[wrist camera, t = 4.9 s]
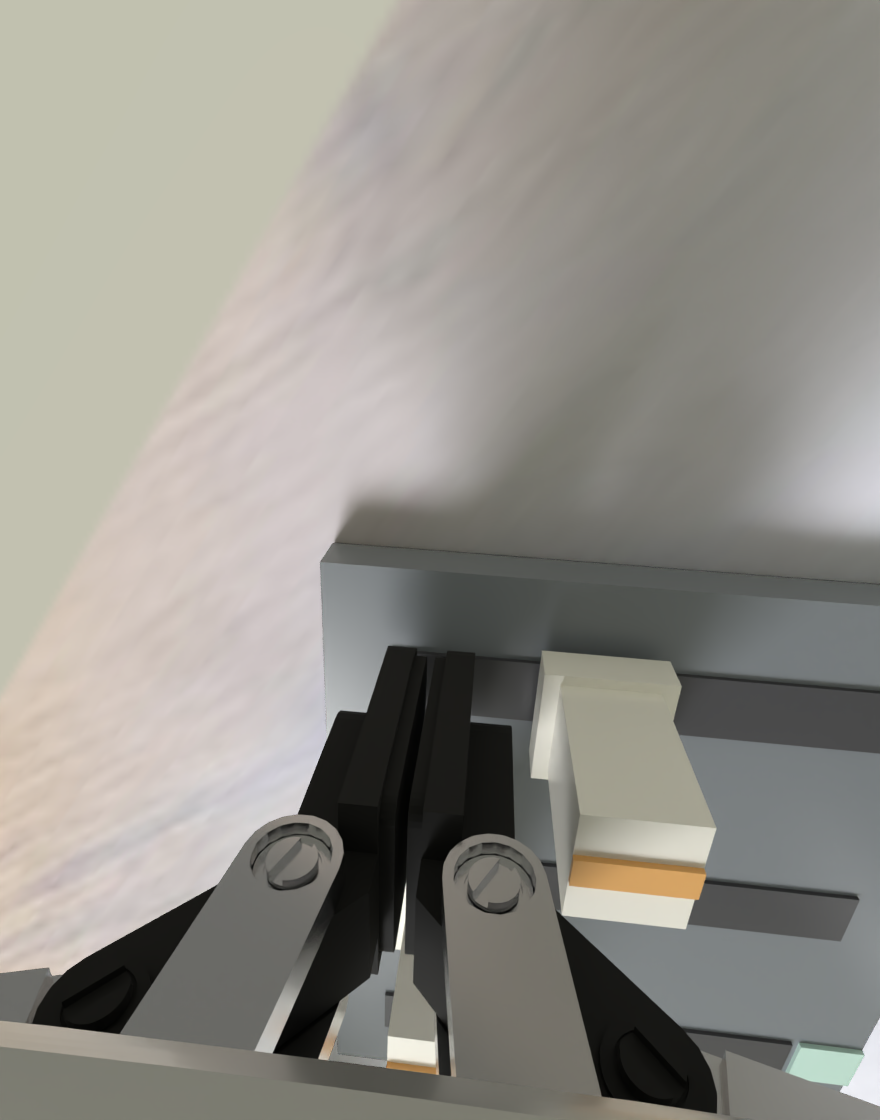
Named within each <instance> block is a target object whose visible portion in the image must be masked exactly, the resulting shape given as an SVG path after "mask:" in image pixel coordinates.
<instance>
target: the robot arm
mask: <svg viewBox="0 0 880 1120" xmlns="http://www.w3.org/2000/svg"><path fill="white" fill-rule="evenodd" d="M474 664H475V653H472V652H460V651H447V655H446V658H441V657H436V658H435V662H434V668H433V673H432V679H431V684H430V690H429V695H428V701H427V707H426V683H427V656H417V648H411V647H399V646H388V647H387V650H386V653H385V656H384V659H383V663H382V666H381V669H380V672H379V675H378V678H377V681H376V684H375V687H374V691H373V694H372V697H371V700H370V703H369V706H368V709H367V712H366V713H365V712H353V711H342V710H340V711H339V712H338V714H337V716H336V718H335V720H334V723H333V725H332V728H331V730H330V733H329V735H328V738H327V741H326V743H325V746H324V748H323V751H322V753H321V756H320V758H319V761H318V764H317V766H316V769H315V771H314V774H313V776H312V779H311V782H310V784H309V787H308V789H307V792H306V794H305V797H304V799H303V802H302V805H301V807H300V810H299V812H298V815H292V816H285V817H281V818H279V819H276V820H274V821H271V822H269V823H267V824H266V825H264V826H263V827H261V828H260V829H258V830H257V831H255V832H254V834H253V835H252V836H251V837H250V838H249V839H248V840H247V842H246V843H245V844H244V846H243V847H242V849H241V850H240V852H239V853H238V855H237V856H236V858H235V859H234V861H233V862H232V864H231V865H230V867H229V868H228V870H227V871H226V873H225V874H224V876H223V877H222V879H221V881H220V882H219V884H218V885H216V886H214V887H213V888H211V889H209V890H207V891H205V892H204V893H202V894H200V895H198V896H196V897H195V898H193V899H191V900H189V901H187V902H186V903H184V904H182V905H180V906H178V907H176V908H175V909H173V910H171V911H169V912H167V913H166V914H164V915H162V916H160V917H158V918H157V919H155V920H153V921H151V922H149V923H148V924H146V925H144V926H142V927H140V928H139V929H137V930H135V931H133V932H131V933H130V934H128V935H126V936H124V937H122V938H121V939H119V940H117V941H115V942H113V943H112V944H110V945H108V946H106V947H104V948H102V949H101V950H99V951H97V952H95V953H93V954H92V955H90V956H88V957H86V958H85V959H83V960H82V961H80V962H79V963H77V964H76V965H75V966H73V967H72V968H70V969H69V970H67V971H66V972H65V973H64V974H63V975H56V976H51V973H50V970H49V968H41V969H33V970H25V971H16V972H8V973H0V1120H880V1106H877V1105H874V1104H871V1103H869V1102H866V1101H863V1100H860V1099H858V1098H855V1097H852V1096H849V1095H847V1094H844V1093H841V1092H839V1091H836V1090H833V1089H830V1088H828V1087H825V1086H822V1085H819V1084H817V1083H814V1082H811V1081H808V1080H806V1079H803V1078H800V1077H797V1076H795V1075H792V1074H789V1073H786V1072H784V1071H781V1070H778V1069H775V1068H773V1067H770V1066H767V1065H764V1064H762V1063H759V1062H756V1061H753V1060H751V1059H748V1058H745V1057H743V1056H740V1055H737V1054H734V1053H732V1052H729V1051H726V1050H725V1053H724V1056H723V1058H719V1057H717V1056H714V1055H711V1054H709V1053H706V1052H703V1051H700V1049H699V1047H698V1046H697V1045H696V1044H695V1043H694V1042H693V1040H692V1039H691V1038H690V1037H689V1036H688V1034H687V1033H686V1032H685V1031H684V1030H683V1029H682V1028H681V1027H680V1026H679V1025H678V1024H677V1023H676V1022H675V1021H674V1020H673V1019H672V1018H670V1017H669V1016H668V1015H667V1014H666V1013H665V1012H664V1011H663V1010H662V1009H661V1008H660V1007H659V1006H658V1005H657V1004H656V1003H655V1002H653V1001H652V1000H651V999H650V998H649V997H648V996H647V995H646V994H645V993H644V992H643V991H642V990H641V989H640V988H639V987H638V986H636V985H635V984H634V983H633V982H632V981H631V980H630V979H629V978H628V977H627V976H626V975H625V974H624V973H623V972H622V971H621V970H619V969H618V968H617V967H616V966H615V965H614V964H613V963H612V962H611V961H610V960H609V959H608V958H607V957H606V956H605V955H604V954H602V953H601V952H600V951H599V950H598V949H597V948H596V947H595V946H594V945H593V944H592V943H591V942H590V941H589V940H588V939H586V938H585V937H584V936H583V935H582V934H581V933H580V932H579V931H578V930H577V929H576V928H575V927H574V926H573V925H572V924H571V923H569V922H568V921H567V920H566V919H565V918H564V917H563V916H562V915H561V914H560V913H559V912H558V911H557V910H556V909H555V907H554V903H553V899H552V895H551V891H550V887H549V883H548V879H547V875H546V872H545V870H544V868H543V865H542V863H541V861H540V860H539V859H538V857H537V856H536V855H535V854H534V853H533V852H532V850H531V849H529V848H528V847H526V846H525V845H523V844H522V843H521V842H519V841H517V840H515V824H514V785H513V746H512V727H511V726H510V725H499V724H488V723H476V722H470V720H471V706H472V692H473V678H474ZM425 711H426V712H425ZM405 886H406V914H405V954H410V955H414V966H413V984H414V985H415V986H416V988H417V989H418V990H419V992H420V993H421V994H422V996H423V997H424V998H425V1000H426V1001H427V1002H428V1004H429V1005H430V1006H431V1008H432V1009H433V1010H434V1012H435V1014H434V1035H435V1057H436V1074H429V1073H421V1072H413V1071H405V1070H398V1069H390V1068H382V1067H375V1066H367V1065H359V1064H351V1063H344V1062H336V1061H328V1060H329V1057H330V1054H331V1051H332V1049H333V1046H334V1043H335V1040H336V1037H337V1035H338V1032H339V1029H340V1026H341V1024H342V1021H343V1018H344V1015H345V1012H346V1008H347V1003H348V998H349V997H348V994H350V993H351V992H352V991H353V990H355V989H356V988H357V987H359V986H360V985H361V984H363V983H364V982H365V981H367V980H368V979H369V978H370V976H371V974H375V975H378V972H379V966H380V961H381V955H382V951H384V952H393V953H394V951H395V947H396V942H397V935H398V929H399V923H400V917H401V911H402V904H403V898H404V892H405Z"/></svg>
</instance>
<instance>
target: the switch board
mask: <svg viewBox="0 0 880 1120" xmlns="http://www.w3.org/2000/svg"><path fill="white" fill-rule="evenodd" d="M320 571H321V599H322V627H323V654H324V682H325V709H326V737H327V738H328V735H329V733H330V730H331V728H332V725H333V723H334V720H335V718H336V716H337V714H338V712H339V711H340V710H342V711H353V712H365V713H366V712H367V709H368V706H369V703H370V700H371V697H372V694H373V691H374V687H375V684H376V681H377V678H378V675H379V672H380V669H381V666H382V663H383V659H384V656H385V653H386V650H387V647H388V646H399V647H411V648H417V656H427V683H426V707H427V701H428V695H429V690H430V684H431V679H432V673H433V668H434V662H435V658H436V657H441V658H446V655H447V651H460V652H472V653H475V664H474V678H473V692H472V706H471V720H470V722H476V723H488V724H499V725H510V726H511V727H512V746H513V785H514V824H515V840H517V841H519V842H521V843H522V844H523V845H525V846H526V847H528V848H529V849H531V850H532V852H533V853H534V854H535V855H536V856H537V857H538V859H539V860H540V861H541V863H542V865H543V868H544V870H545V872H546V875H547V879H548V883H549V887H550V891H551V895H552V899H553V903H554V907H555V909H556V910H557V911H558V912H559V913H560V914H561V915H562V913H561V903H560V893H559V883H558V872H557V862H556V852H555V842H554V832H553V822H552V812H551V802H550V792H549V782H548V780H546V779H536V778H531V774H530V758H529V746H530V738H531V731H532V723H533V715H534V708H535V700H536V692H537V685H538V677H539V670H540V662H541V654H542V650H543V651H554V652H566V653H577V654H589V655H601V656H612V657H624V658H636V659H647V660H659V661H670V662H671V664H672V666H673V668H674V671H675V673H676V675H677V677H678V679H679V681H680V684H681V686H682V687H681V691H680V696H679V700H678V704H677V708H676V712H675V716H674V720H673V722H674V724H675V727H676V729H677V732H678V734H679V737H680V739H681V742H682V744H683V747H684V749H685V752H686V754H687V757H688V759H689V761H690V764H691V766H692V769H693V771H694V774H695V776H696V779H697V781H698V784H699V786H700V789H701V791H702V794H703V796H704V799H705V801H706V803H707V806H708V808H709V811H710V813H711V816H712V818H713V821H714V823H715V826H716V832H715V835H714V838H713V842H712V845H711V848H710V851H709V855H708V858H707V861H706V865H705V868H704V869H705V872H706V878H705V881H704V884H703V888H702V891H701V894H700V897H699V900H695V901H694V904H693V907H692V910H691V914H690V917H689V920H688V923H687V927H686V929H678V928H669V927H660V926H651V925H642V924H634V923H625V922H616V921H607V920H598V919H589V918H580V917H572V916H563V915H562V916H563V917H564V918H565V919H566V920H567V921H568V922H569V923H571V924H572V925H573V926H574V927H575V928H576V929H577V930H578V931H579V932H580V933H581V934H582V935H583V936H584V937H585V938H586V939H588V940H589V941H590V942H591V943H592V944H593V945H594V946H595V947H596V948H597V949H598V950H599V951H600V952H601V953H602V954H604V955H605V956H606V957H607V958H608V959H609V960H610V961H611V962H612V963H613V964H614V965H615V966H616V967H617V968H618V969H619V970H621V971H622V972H623V973H624V974H625V975H626V976H627V977H628V978H629V979H630V980H631V981H632V982H633V983H634V984H635V985H636V986H638V987H639V988H640V989H641V990H642V991H643V992H644V993H645V994H646V995H647V996H648V997H649V998H650V999H651V1000H652V1001H653V1002H655V1003H656V1004H657V1005H658V1006H659V1007H660V1008H661V1009H662V1010H663V1011H664V1012H665V1013H666V1014H667V1015H668V1016H669V1017H670V1018H672V1019H673V1020H674V1021H675V1022H676V1023H677V1024H678V1025H679V1026H680V1027H681V1028H682V1029H683V1030H684V1031H685V1032H686V1033H687V1034H688V1036H689V1037H690V1038H691V1039H692V1040H693V1042H694V1043H695V1044H696V1045H697V1046H698V1047H699V1049H700V1051H703V1052H706V1053H709V1054H711V1055H714V1056H717V1057H719V1058H723V1056H724V1053H725V1050H726V1051H729V1052H732V1053H734V1054H737V1055H740V1056H743V1057H745V1058H748V1059H751V1060H753V1061H756V1062H759V1063H762V1064H764V1065H767V1066H770V1067H773V1068H775V1069H778V1070H781V1071H784V1072H786V1073H789V1074H792V1075H795V1076H797V1077H800V1078H803V1079H806V1080H808V1081H811V1082H814V1083H817V1084H819V1085H822V1086H825V1087H828V1088H830V1089H833V1090H836V1091H839V1092H840V1090H841V1088H842V1086H848V1085H849V1083H850V1081H851V1079H852V1077H853V1076H854V1074H855V1072H856V1070H857V1068H858V1066H859V1065H860V1063H861V1061H862V1059H863V1057H864V1053H863V1051H862V1049H863V1048H864V1046H865V1044H866V1042H867V1040H868V1038H869V1036H870V1035H871V1033H872V1031H873V1029H874V1027H875V1025H876V1023H877V1022H878V1020H879V1018H880V585H878V584H865V583H852V582H839V581H826V580H813V579H800V578H787V577H774V576H761V575H747V574H734V573H721V572H708V571H695V570H682V569H669V568H656V567H643V566H630V565H617V564H604V563H591V562H578V561H564V560H551V559H538V558H525V557H512V556H499V555H486V554H473V553H460V552H447V551H434V550H421V549H408V548H394V547H381V546H368V545H355V544H342V543H333V544H332V545H331V547H330V548H329V550H328V551H327V553H326V554H325V556H324V557H323V559H322V560H321V562H320ZM425 712H426V711H425ZM400 951H401V950H397V949H395V951H394V953H393V952H384V951H382V955H381V961H380V966H379V972H378V975H375V974H371V976H370V978H369V979H368V980H367V981H365V982H364V983H363V984H361V985H360V986H359V987H357V988H356V989H355V990H353V991H352V992H351V993H350V994H348V997H349V998H348V1003H347V1008H346V1012H345V1015H344V1018H343V1021H342V1024H341V1026H340V1029H339V1032H338V1035H337V1040H338V1054H342V1055H349V1056H357V1057H365V1058H372V1059H380V1060H387V1045H388V1031H389V1024H390V1017H391V1011H392V1004H393V998H394V991H395V984H396V978H397V971H398V964H399V958H400Z"/></svg>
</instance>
